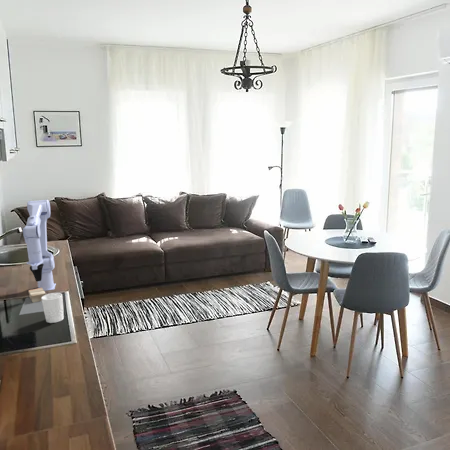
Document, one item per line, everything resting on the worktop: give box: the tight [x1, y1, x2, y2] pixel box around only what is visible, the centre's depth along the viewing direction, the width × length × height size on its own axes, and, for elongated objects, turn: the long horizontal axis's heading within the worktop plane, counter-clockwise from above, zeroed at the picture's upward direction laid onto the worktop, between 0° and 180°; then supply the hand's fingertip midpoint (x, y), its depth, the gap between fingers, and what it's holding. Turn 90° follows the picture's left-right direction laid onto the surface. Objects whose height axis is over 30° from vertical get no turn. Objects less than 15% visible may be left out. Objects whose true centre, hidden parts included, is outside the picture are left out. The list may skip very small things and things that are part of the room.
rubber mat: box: [18, 297, 44, 316], centre depth 205 cm, size 22×14×1 cm, turn 16°
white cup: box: [41, 292, 65, 324], centre depth 185 cm, size 8×8×10 cm
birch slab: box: [28, 287, 47, 302], centre depth 212 cm, size 3×6×10 cm
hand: (38, 280), depth 211 cm, fingers closed
